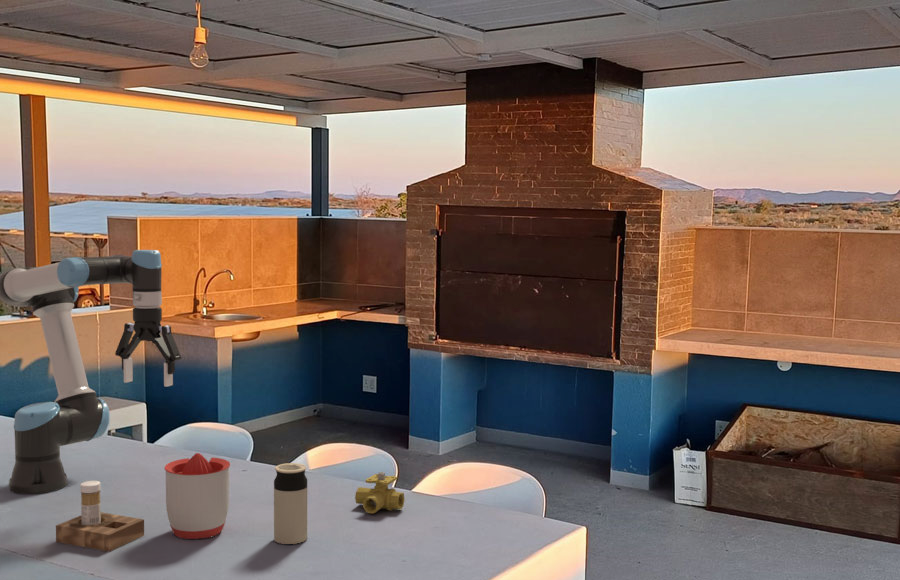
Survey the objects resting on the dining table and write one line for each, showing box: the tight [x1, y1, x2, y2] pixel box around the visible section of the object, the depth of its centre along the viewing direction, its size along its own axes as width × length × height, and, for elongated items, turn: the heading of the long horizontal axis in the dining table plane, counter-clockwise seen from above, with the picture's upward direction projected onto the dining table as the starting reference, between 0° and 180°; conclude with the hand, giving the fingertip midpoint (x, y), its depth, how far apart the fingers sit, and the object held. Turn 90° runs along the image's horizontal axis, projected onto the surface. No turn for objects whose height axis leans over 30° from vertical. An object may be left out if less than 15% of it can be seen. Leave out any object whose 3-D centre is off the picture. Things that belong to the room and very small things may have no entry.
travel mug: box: [273, 462, 308, 545], centre depth 225 cm, size 8×8×18 cm
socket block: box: [55, 511, 145, 553], centre depth 225 cm, size 16×12×4 cm
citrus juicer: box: [164, 452, 231, 540], centre depth 230 cm, size 16×17×20 cm
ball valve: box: [354, 471, 406, 514], centre depth 249 cm, size 13×10×10 cm
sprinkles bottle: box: [79, 480, 102, 525], centre depth 225 cm, size 5×5×13 cm
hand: (148, 384), depth 255 cm, fingers open, 13 cm apart
